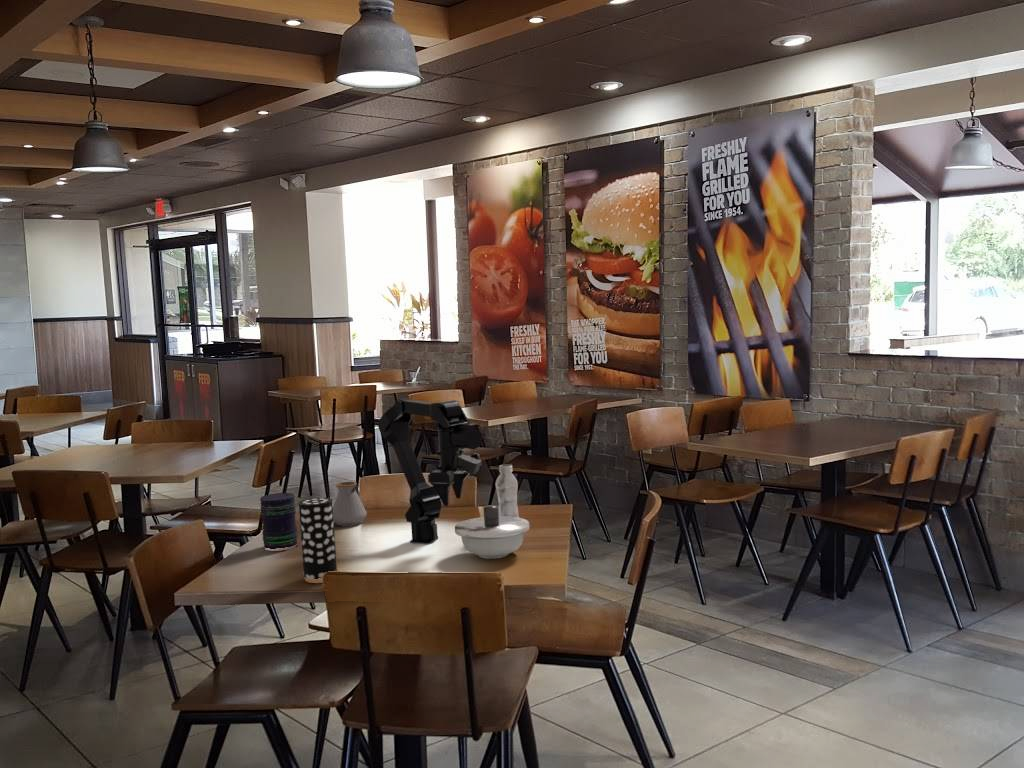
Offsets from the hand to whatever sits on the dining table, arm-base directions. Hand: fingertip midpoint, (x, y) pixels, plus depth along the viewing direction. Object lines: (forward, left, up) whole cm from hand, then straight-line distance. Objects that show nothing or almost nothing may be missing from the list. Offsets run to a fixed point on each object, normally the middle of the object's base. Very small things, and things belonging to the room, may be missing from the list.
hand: (452, 502), depth 254 cm
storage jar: (-52, -6, -13) cm, 54 cm away
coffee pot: (-42, +19, -13) cm, 48 cm away
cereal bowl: (+13, -5, -13) cm, 19 cm away
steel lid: (+13, -5, -6) cm, 15 cm away
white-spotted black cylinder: (-24, -32, -13) cm, 42 cm away
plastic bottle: (+10, +18, -13) cm, 24 cm away
